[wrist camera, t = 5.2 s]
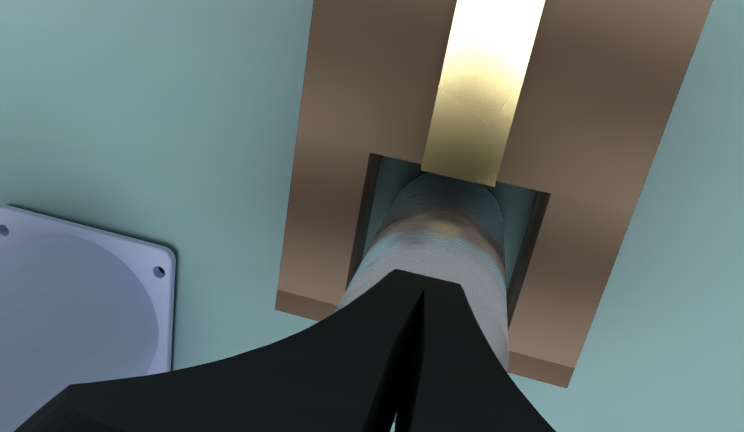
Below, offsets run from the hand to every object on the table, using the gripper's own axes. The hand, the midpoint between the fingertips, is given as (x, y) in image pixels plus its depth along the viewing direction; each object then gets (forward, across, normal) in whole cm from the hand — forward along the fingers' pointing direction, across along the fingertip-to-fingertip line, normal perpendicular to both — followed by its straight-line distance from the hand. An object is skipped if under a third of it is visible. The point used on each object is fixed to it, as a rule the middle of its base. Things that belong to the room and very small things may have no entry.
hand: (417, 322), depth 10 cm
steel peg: (+9, 0, +2) cm, 9 cm away
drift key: (+6, 0, -4) cm, 8 cm away
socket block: (+9, 0, -1) cm, 9 cm away
